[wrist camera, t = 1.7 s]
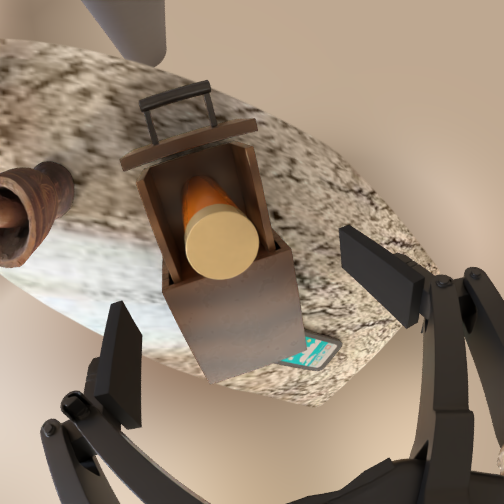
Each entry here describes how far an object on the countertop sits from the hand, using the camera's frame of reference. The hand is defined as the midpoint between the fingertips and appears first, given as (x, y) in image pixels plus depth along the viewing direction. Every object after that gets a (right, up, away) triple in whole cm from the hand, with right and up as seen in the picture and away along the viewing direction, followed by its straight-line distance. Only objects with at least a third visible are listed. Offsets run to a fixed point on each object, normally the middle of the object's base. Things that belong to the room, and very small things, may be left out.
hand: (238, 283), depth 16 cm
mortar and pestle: (-26, +10, +13) cm, 31 cm away
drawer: (-6, +11, +17) cm, 21 cm away
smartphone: (+10, -16, +36) cm, 41 cm away
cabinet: (-3, -2, +25) cm, 25 cm away
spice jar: (-5, +8, +17) cm, 20 cm away
